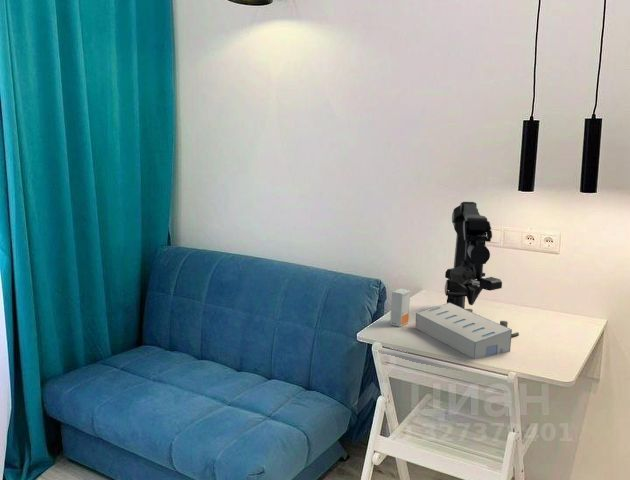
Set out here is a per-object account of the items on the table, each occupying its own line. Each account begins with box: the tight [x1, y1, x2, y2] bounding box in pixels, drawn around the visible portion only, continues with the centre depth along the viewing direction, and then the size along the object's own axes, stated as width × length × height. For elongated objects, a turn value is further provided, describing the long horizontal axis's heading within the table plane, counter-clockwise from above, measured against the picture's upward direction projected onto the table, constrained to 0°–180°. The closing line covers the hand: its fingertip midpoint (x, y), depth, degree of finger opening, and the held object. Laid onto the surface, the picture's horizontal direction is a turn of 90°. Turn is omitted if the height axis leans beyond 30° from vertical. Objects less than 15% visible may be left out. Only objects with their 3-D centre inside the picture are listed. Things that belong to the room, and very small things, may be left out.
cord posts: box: [465, 308, 520, 338], centre depth 208 cm, size 8×24×5 cm, turn 34°
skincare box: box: [390, 287, 411, 328], centre depth 209 cm, size 6×4×12 cm
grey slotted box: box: [414, 302, 513, 360], centre depth 196 cm, size 30×14×8 cm, turn 26°
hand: (471, 304), depth 191 cm, fingers closed
